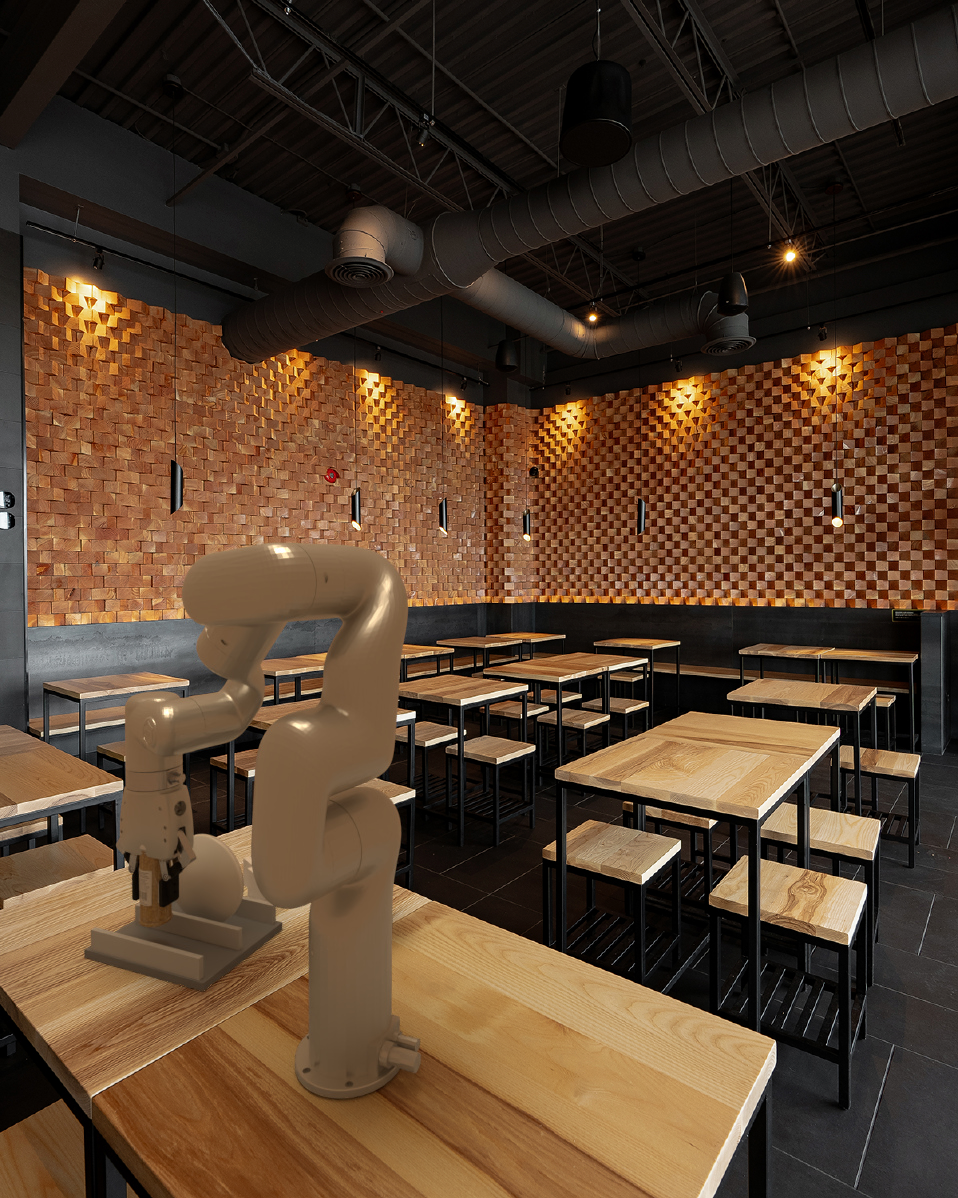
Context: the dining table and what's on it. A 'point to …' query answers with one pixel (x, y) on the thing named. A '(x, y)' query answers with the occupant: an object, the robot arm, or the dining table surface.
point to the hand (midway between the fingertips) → (155, 898)
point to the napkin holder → (251, 880)
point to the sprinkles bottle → (151, 892)
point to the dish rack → (194, 925)
